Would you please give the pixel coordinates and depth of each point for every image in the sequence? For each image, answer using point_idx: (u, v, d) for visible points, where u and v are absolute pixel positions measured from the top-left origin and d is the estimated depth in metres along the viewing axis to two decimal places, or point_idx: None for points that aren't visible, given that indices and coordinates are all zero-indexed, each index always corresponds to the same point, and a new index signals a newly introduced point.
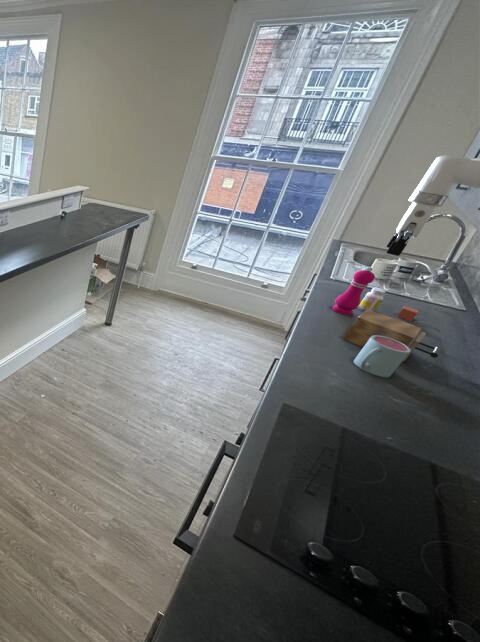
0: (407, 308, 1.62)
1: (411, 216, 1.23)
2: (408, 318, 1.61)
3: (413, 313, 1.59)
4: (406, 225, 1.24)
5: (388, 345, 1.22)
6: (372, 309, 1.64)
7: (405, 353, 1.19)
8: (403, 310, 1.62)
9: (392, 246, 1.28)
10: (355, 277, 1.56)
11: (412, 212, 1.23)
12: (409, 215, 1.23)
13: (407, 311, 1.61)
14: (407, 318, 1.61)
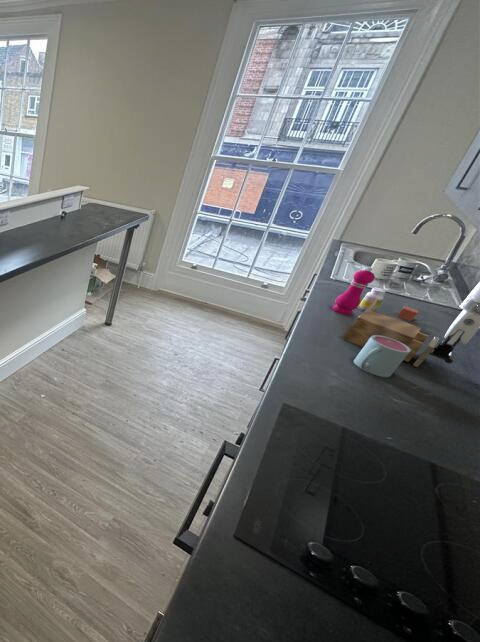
0: (407, 308, 1.62)
1: (459, 322, 1.21)
2: (408, 318, 1.61)
3: (413, 313, 1.59)
4: (453, 331, 1.22)
5: (388, 345, 1.22)
6: (372, 309, 1.64)
7: (405, 353, 1.19)
8: (403, 310, 1.62)
9: (437, 349, 1.28)
10: (355, 277, 1.56)
11: (461, 319, 1.21)
12: (457, 322, 1.21)
13: (407, 311, 1.61)
14: (407, 318, 1.61)
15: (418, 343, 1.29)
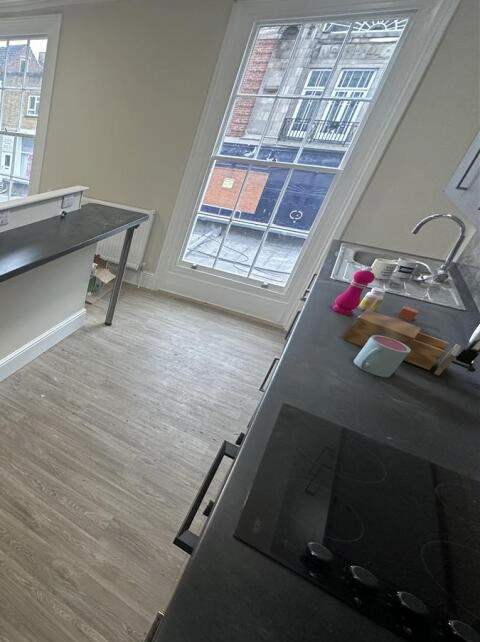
0: (407, 308, 1.62)
1: None
2: (408, 318, 1.61)
3: (413, 313, 1.59)
4: (479, 336, 1.18)
5: (388, 345, 1.22)
6: (372, 309, 1.64)
7: (405, 353, 1.19)
8: (403, 310, 1.62)
9: (462, 354, 1.25)
10: (355, 277, 1.56)
11: None
12: None
13: (407, 311, 1.61)
14: (407, 318, 1.61)
15: (439, 351, 1.25)
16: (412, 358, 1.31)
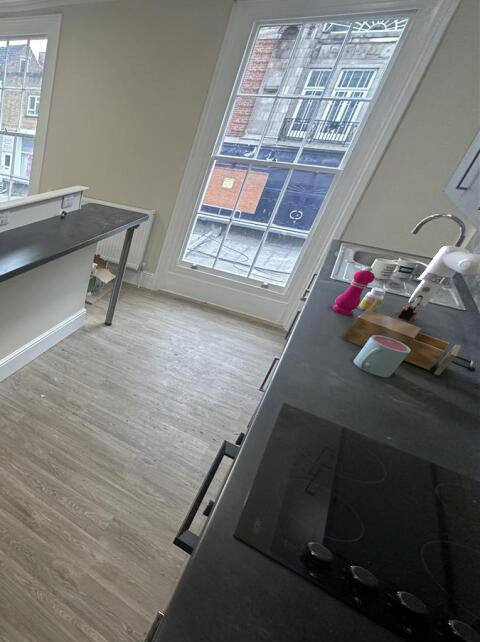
0: None
1: (419, 290, 1.55)
2: None
3: None
4: (415, 297, 1.56)
5: (388, 345, 1.22)
6: (372, 309, 1.64)
7: (405, 353, 1.19)
8: (403, 310, 1.62)
9: (402, 313, 1.61)
10: (355, 277, 1.56)
11: (420, 287, 1.55)
12: (417, 289, 1.55)
13: None
14: None
15: (439, 351, 1.25)
16: (412, 358, 1.31)
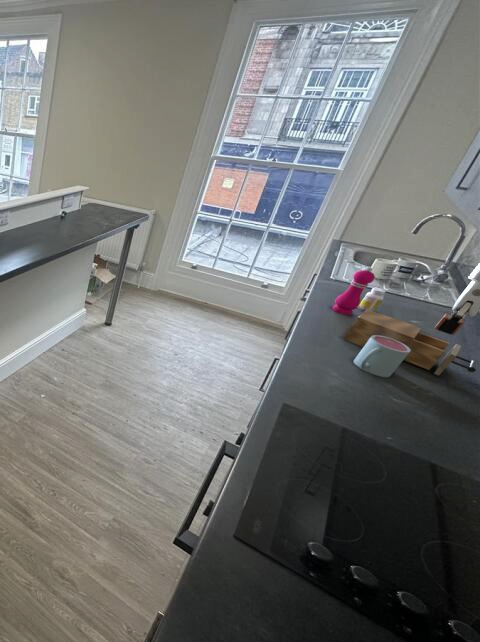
0: None
1: (468, 294, 1.18)
2: None
3: None
4: (462, 303, 1.19)
5: (388, 345, 1.22)
6: (372, 309, 1.64)
7: (405, 353, 1.19)
8: (444, 319, 1.25)
9: (444, 324, 1.24)
10: (355, 277, 1.56)
11: (470, 290, 1.18)
12: (466, 293, 1.18)
13: None
14: None
15: (439, 351, 1.25)
16: (412, 358, 1.31)
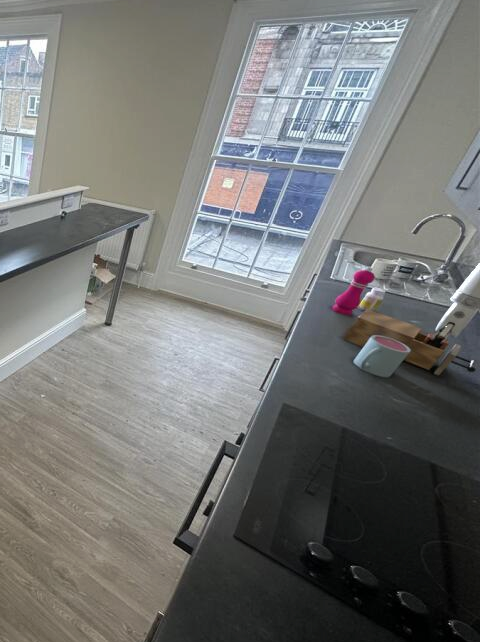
0: None
1: (450, 315, 1.22)
2: None
3: None
4: (444, 324, 1.23)
5: (388, 345, 1.22)
6: (372, 309, 1.64)
7: (405, 353, 1.19)
8: (428, 339, 1.29)
9: (428, 343, 1.28)
10: (355, 277, 1.56)
11: (452, 312, 1.22)
12: (448, 314, 1.22)
13: None
14: None
15: (439, 351, 1.25)
16: (412, 358, 1.31)
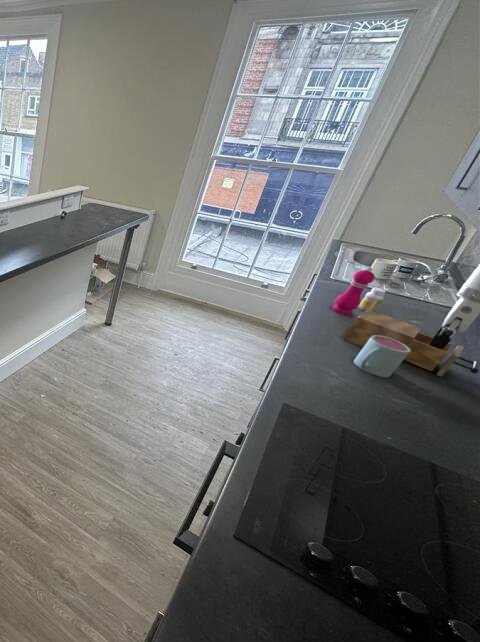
0: None
1: (457, 310, 1.21)
2: None
3: None
4: (451, 319, 1.22)
5: (388, 345, 1.22)
6: (372, 309, 1.64)
7: (405, 353, 1.19)
8: None
9: (435, 339, 1.26)
10: (355, 277, 1.56)
11: (459, 307, 1.20)
12: (455, 310, 1.21)
13: None
14: None
15: (442, 352, 1.25)
16: (414, 359, 1.30)
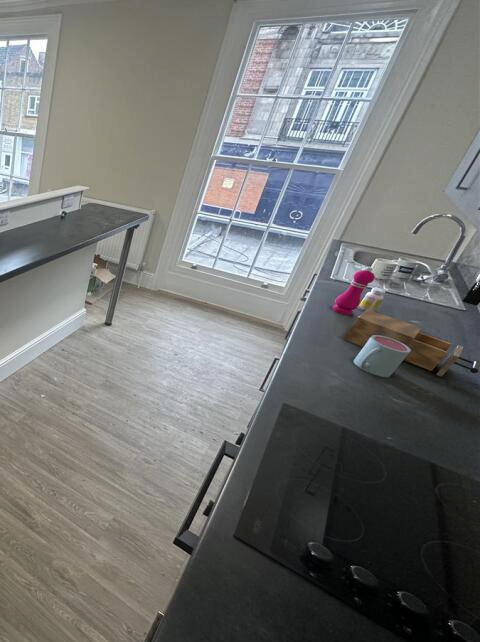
0: None
1: None
2: None
3: None
4: None
5: (388, 345, 1.22)
6: (372, 309, 1.64)
7: (405, 353, 1.19)
8: None
9: (469, 295, 1.18)
10: (355, 277, 1.56)
11: None
12: None
13: None
14: None
15: (442, 352, 1.25)
16: (414, 359, 1.30)
